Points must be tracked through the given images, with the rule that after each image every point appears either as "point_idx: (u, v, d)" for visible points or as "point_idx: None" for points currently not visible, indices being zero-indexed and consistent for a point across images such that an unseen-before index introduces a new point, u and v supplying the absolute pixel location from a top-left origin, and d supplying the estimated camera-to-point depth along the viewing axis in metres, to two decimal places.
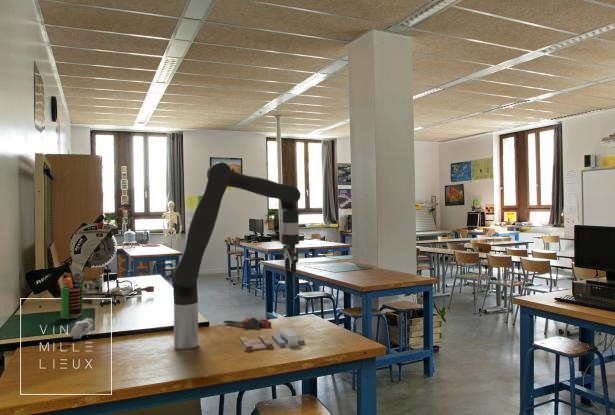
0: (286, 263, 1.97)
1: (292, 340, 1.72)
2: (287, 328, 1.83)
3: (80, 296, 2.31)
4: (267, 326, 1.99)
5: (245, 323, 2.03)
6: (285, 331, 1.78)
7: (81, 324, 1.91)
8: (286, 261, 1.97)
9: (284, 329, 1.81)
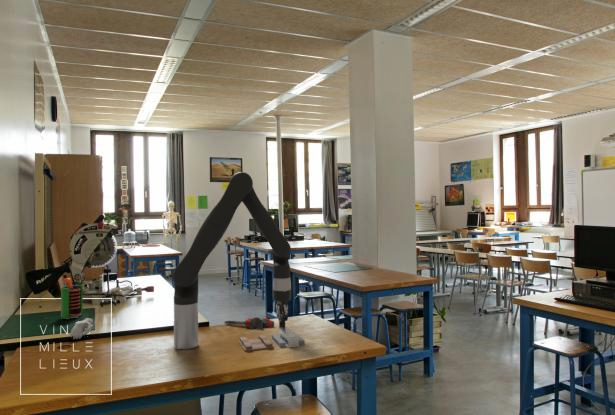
0: None
1: (293, 340, 1.72)
2: (288, 328, 1.82)
3: (80, 296, 2.31)
4: (270, 325, 2.00)
5: (247, 323, 2.04)
6: (286, 331, 1.78)
7: (81, 324, 1.91)
8: None
9: (285, 329, 1.81)
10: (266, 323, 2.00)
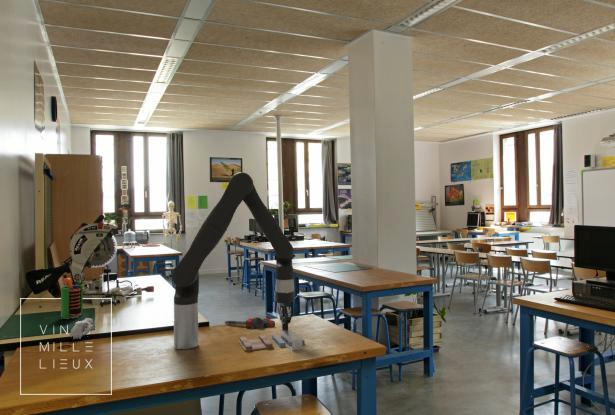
0: None
1: (296, 343, 1.68)
2: (291, 331, 1.78)
3: (80, 296, 2.31)
4: (271, 325, 2.00)
5: (248, 323, 2.04)
6: (289, 334, 1.74)
7: (81, 324, 1.91)
8: (283, 323, 1.83)
9: (288, 332, 1.77)
10: (267, 323, 2.00)
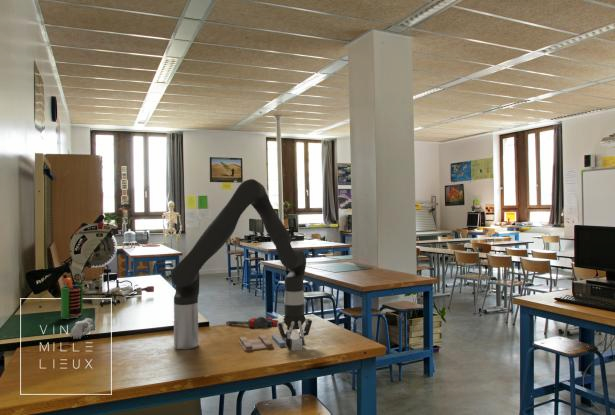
0: None
1: (296, 344, 1.68)
2: None
3: (80, 296, 2.31)
4: (275, 324, 2.02)
5: (251, 323, 2.04)
6: None
7: (81, 324, 1.91)
8: None
9: None
10: (271, 322, 2.01)
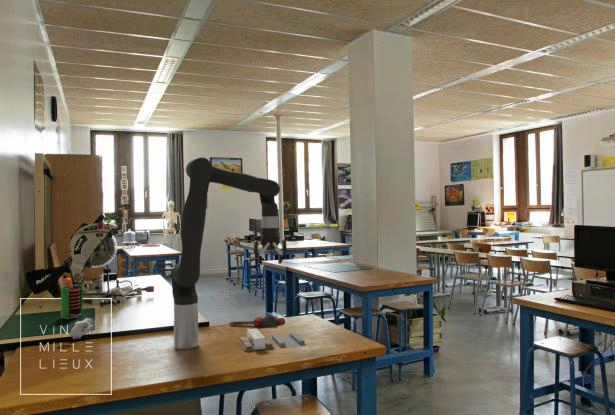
0: (278, 257, 1.97)
1: (259, 343, 1.68)
2: (256, 330, 1.78)
3: (80, 296, 2.31)
4: (282, 322, 2.05)
5: (257, 322, 2.05)
6: (253, 333, 1.74)
7: (81, 324, 1.91)
8: (278, 255, 1.97)
9: (252, 331, 1.77)
10: (278, 320, 2.04)
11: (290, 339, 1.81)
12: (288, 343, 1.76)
